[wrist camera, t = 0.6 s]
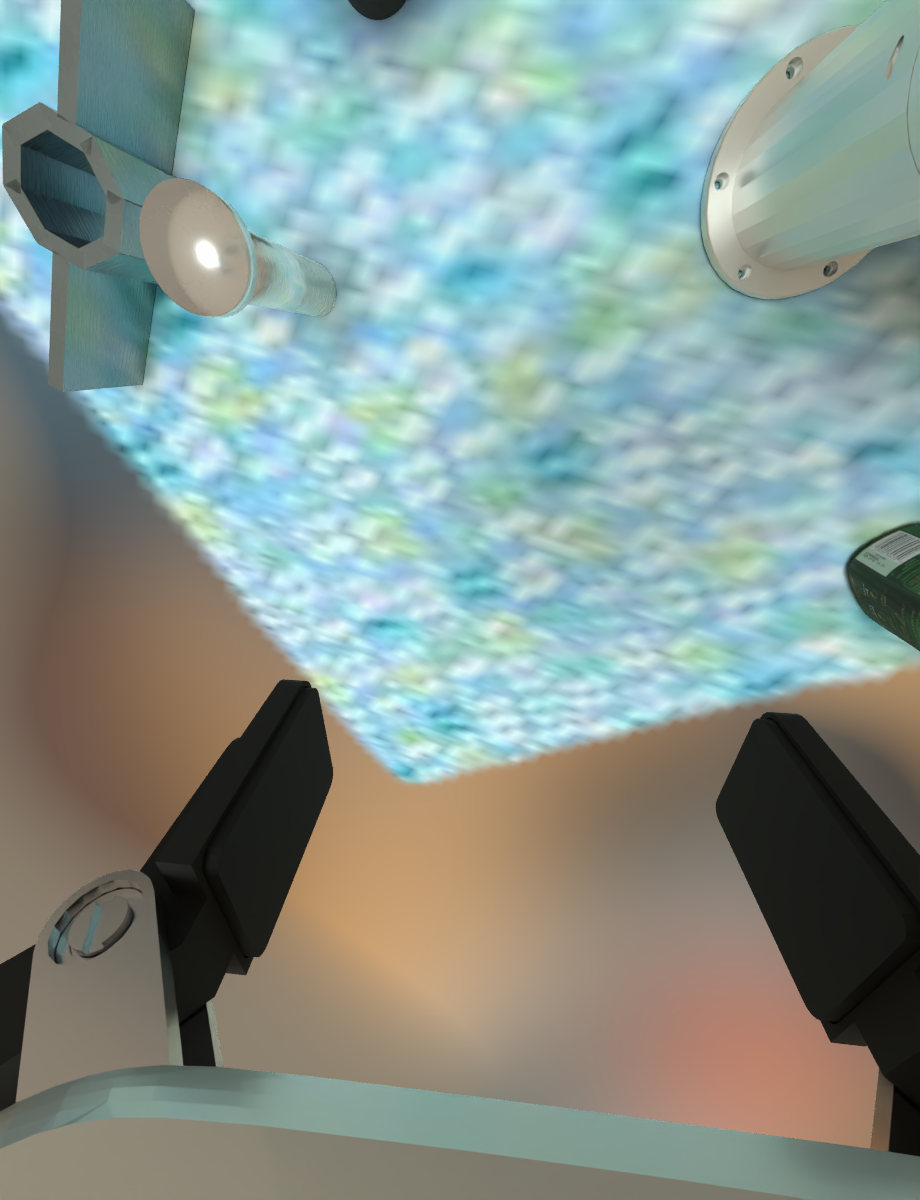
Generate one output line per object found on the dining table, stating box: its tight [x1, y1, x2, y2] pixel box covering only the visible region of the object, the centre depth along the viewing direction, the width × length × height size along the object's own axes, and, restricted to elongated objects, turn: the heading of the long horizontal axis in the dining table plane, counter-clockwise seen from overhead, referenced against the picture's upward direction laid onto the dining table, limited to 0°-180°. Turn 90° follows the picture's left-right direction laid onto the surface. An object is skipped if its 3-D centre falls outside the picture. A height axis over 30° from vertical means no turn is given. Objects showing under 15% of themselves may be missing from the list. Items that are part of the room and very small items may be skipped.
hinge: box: [2, 0, 194, 392], centre depth 29 cm, size 24×7×8 cm, turn 151°
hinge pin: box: [139, 178, 336, 318], centre depth 27 cm, size 5×5×15 cm
